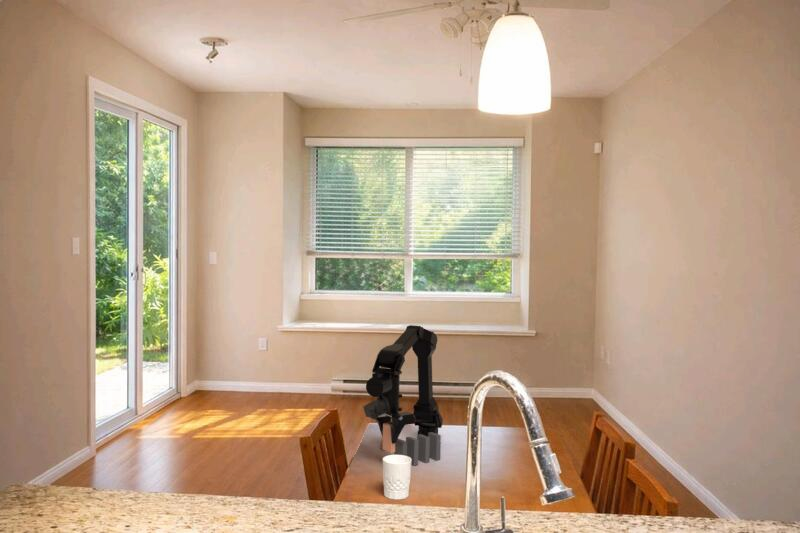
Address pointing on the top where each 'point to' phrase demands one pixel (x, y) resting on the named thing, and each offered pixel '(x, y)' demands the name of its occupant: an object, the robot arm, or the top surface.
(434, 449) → the gray rectangular block
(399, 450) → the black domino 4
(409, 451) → the grey rectangular block
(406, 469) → the white cup
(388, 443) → the terracotta domino
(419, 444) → the grey domino
